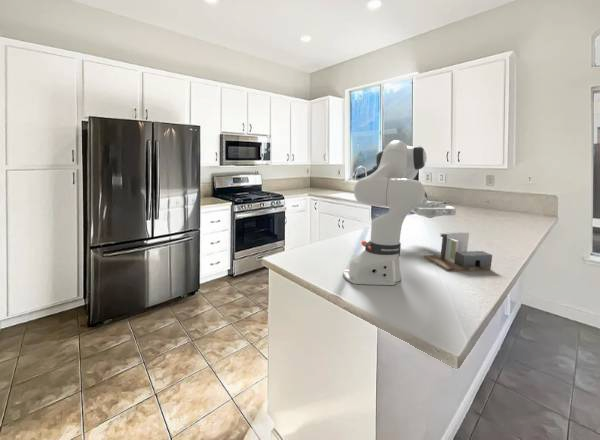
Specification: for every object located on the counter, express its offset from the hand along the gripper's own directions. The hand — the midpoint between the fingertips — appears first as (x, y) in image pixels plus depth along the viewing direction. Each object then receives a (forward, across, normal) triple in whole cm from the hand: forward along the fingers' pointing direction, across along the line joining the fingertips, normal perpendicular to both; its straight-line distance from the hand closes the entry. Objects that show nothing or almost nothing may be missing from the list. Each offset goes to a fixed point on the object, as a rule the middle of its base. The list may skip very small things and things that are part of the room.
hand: (444, 213), depth 158 cm
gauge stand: (+18, -4, +20) cm, 27 cm away
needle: (+15, -8, +18) cm, 25 cm away
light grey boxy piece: (+17, -2, +18) cm, 25 cm away
